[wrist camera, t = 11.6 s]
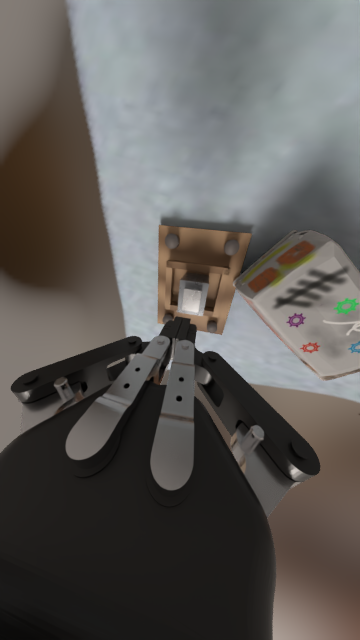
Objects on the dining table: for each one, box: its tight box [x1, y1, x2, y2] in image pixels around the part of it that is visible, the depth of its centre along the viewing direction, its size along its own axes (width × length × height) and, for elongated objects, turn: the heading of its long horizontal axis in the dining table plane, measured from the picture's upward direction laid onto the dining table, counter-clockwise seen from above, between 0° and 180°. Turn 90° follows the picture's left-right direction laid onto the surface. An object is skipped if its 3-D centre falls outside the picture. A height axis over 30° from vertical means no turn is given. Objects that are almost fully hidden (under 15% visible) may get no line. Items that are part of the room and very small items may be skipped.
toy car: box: [233, 230, 360, 381], centre depth 21 cm, size 11×25×10 cm, turn 49°
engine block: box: [177, 272, 209, 316], centre depth 22 cm, size 5×4×7 cm
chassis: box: [158, 225, 252, 335], centre depth 25 cm, size 18×14×3 cm
